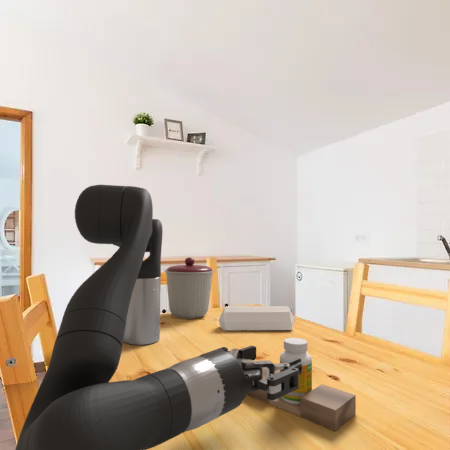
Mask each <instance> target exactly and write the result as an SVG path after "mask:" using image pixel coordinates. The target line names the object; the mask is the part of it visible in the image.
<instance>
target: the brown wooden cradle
mask: <svg viewBox="0 0 450 450" xmlns="http://www.w3.org/2000/svg"><path fill="white" fill-rule="evenodd" d="M279 372H280V370H276V371H275V372H274V374H277V373H279ZM262 379H267V367H263V368H262ZM246 396H250V397H252V398H255V399H257V400H260V401H262V402H264V403H267V404H270V405H272V406H274V407H276V408H279V409H281V410H283V411H286V412H288V413H291V414H294V415H296V416H298V417H300V418H303V419H306V420H308V421H310V422H312V423H315V424H317V425H319V426H322V427H325V428H327V429H330V430H332V431H334V432H337V431H338V430H339V429H340V428H341V427H343V425H345V424H346V423H348V421H349V420H350V419H352V418H353V417H354V416H355V415H356V414H357V412H356V410H357V409H356V407H357V406H356V403H357V402H356V394H353V393H351V392H348V391H344V390H341V389H338V388H335V387H331V386H329V385H325V384H320V385H318V386H317V387H315V388H312V391H310V392H308V393H307V394H305V395H303V396H302V397H300V405H294V404H290V403H287V402H285V401H284V400H282V399H281V397H280V398H278V399H276V400H269V399H267V392H266V391H264V390H261V389H260V390H258V391H253V392H248V393H247V395H246Z"/></svg>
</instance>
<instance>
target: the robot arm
mask: <svg viewBox="0 0 450 450" xmlns="http://www.w3.org/2000/svg"><path fill="white" fill-rule="evenodd" d="M153 207H154V206H153V199H152V196H151V193H150V192H149V191H148V190H147V188H143V187H138V186H133V185H130V186H129V185H115V184H114V185H113V184H112V185H111V184H95V185H89V186H88V187H86V188H85V189H84V190H82V192H80V194H79V196H78V197H77V200H76V203H75V208H74V221H75V224H76V228H77V230H78V232H79V235H80V236H81V237H82V238H83V239H84V240H86V242H88V243H91V244H97V245H113V246H116V247H118V249H117V250H116V251H115V252H114V253H113V254H112V255H111V257H110V258H108V259H107V261H105V262H104V263H103V264H102V265H101V266H100V267H98V268H97V269H96V270H95V271H94V272H93V273H92V274H91V275H89V277H87V279H85V280H84V281H83V282H82V283H81V284H80V285H79V286H78V288H77V289H75V291H74V293H73V294H72V296H71V297H70V299H69V301H68V303H67V304H66V308H65V310H64V311H63V312H64V313H63V315H62V319H61V322H60V326H59V328H58V331H57V335H56V338H55V341H54V345H53V347H52V352H51V357H50V360H49V363H48V367H47V370H46V372H45V374H44V377H43V379H42V381H41V383H40V384H39V387H38V389H37V392H36V394H35V397H34V399H33V401H32V404H31V406H30V408H29V410H28V413H27V415H26V418H25V419H24V423H23V426H22V428H21V431H20V434H19V437H18V439H17V442H16V446H15V450H149V449H152V448H155V447H157V446H160V445H161V444H164V443H166V442H167V441H169V440H171V439H173V438H175V437H178V436H179V435H181V434H183V433H186V432H188V431H193V430H196V429H198V428H200V427H203V426H204V425H206V424H208V423H210V422H211V421H214V420H216V419H218V418H219V417H222V416H224V415H226V414H228V413H229V412H231V411H233V410H235V409H237V408H238V407H239V406H240V405H241V404H242V402H243V401H244V399H245V398H246V397H247V396H248V395H247V393H248V392H253V391H258V390H260V389H261V390H264V391H266V392H267V399H269V400H276V399H278V398H280V397H282V396H284V395H286V394H288V393H290V392H292V391H294V390H296V389H298V388H299V374H301V373H302V362H301V359H300V358H294V359H291V360H289V361H287V362H284V363H280V362H279V363H273V362H272V361H271V359H269V360H256V359H257V346H255V345H249V346H246V347H243V348H240V349H239V348H232V349H230V350H229V349H228V347H226V346H222V347H219V348H216V349H214V350H211V351H208V352H205V353H202V354H200V355H197V356H195V357H191V358H188V359H185V360H183V361H180V362H177V363H175V364H172V365H171V366H168V367H167V368H163V369H161V370H158V371H155V372H151V373H148V374H146V375H141V376H139V377H137V378H135V379H132V380H131V379H130V380H118V381H111V382H110V380H112V378H113V376H114V375H115V373H116V372H117V370H118V367H119V363H120V360H121V356H122V350H123V344H124V343H127V344H129V345H138V346H140V345H141V346H143V345H150V344H154V343H156V342H158V341H160V339H161V338H160V337H161V336H160V335H161V334H160V333H161V330H160V329H161V285H162V283H161V281H162V280H161V279H162V278H161V276H162V271H161V270H162V269H161V265H162V263H161V262H162V244H163V224H162V221H161V220H160V219H157V218H153V215H154V214H153V213H154V212H153V211H154V209H153ZM145 253H149V255H148V257H147V258H145ZM144 258H145V259H144ZM263 367H267V379H262V368H263ZM276 370H281V372H279V373H277V374H274V372H275V371H276Z"/></svg>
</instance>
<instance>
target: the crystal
mask: <svg viewBox="0 0 450 450" xmlns="http://www.w3.org/2000/svg"><path fill="white" fill-rule="evenodd" d="M295 320H296V319H295V317H294V315H293V313H292V311H291V309H290V307H289V306H287V305H281V306H279V305H277V306H276V305H275V306H274V305H258V306H257V305H251V306H250V305H244V306H243V305H241V306H239V305H238V306H237V305H229V306H227V305H226V306H225V307H224V308H223V310H222V312H221V314H220V315H219V318H218V322H219V326H220V328H221V330H223V331H225V332H226V331H229V332H230V331H233V332H234V331H236V332H239V331H240V332H241V330H247V331H292V329H293V326H294V324H295Z"/></svg>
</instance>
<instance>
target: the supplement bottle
mask: <svg viewBox="0 0 450 450" xmlns="http://www.w3.org/2000/svg"><path fill="white" fill-rule="evenodd" d="M283 350H284V351H282V352H281V353H280V355H279V363H284V362H287V361H289V360H291V359H294V358H300V359H301V362H302V373H301V374H299V388H298V389H296V390H294V391H292V392H290V393H288V394H286V395H284V396H282V397H281V399H282V400H284V401H285V402H287V403H290V404H294V405H300V397H302V396H303V395H305V394H307V393H308V392H310V391H312V390H313V359H312V356H311V355H310V353H308V352H307V351H308V341H307V340H306V339H305V338H299V337H287V338H285V339H284V340H283ZM280 372H281V370H280Z"/></svg>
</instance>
